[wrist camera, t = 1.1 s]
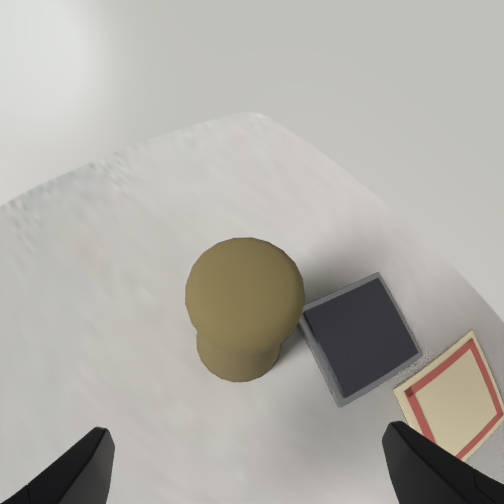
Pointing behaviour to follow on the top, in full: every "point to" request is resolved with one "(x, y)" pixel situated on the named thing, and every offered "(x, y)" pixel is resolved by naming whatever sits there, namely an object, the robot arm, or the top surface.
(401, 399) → the print card
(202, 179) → the top surface
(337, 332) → the ink pad
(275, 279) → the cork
